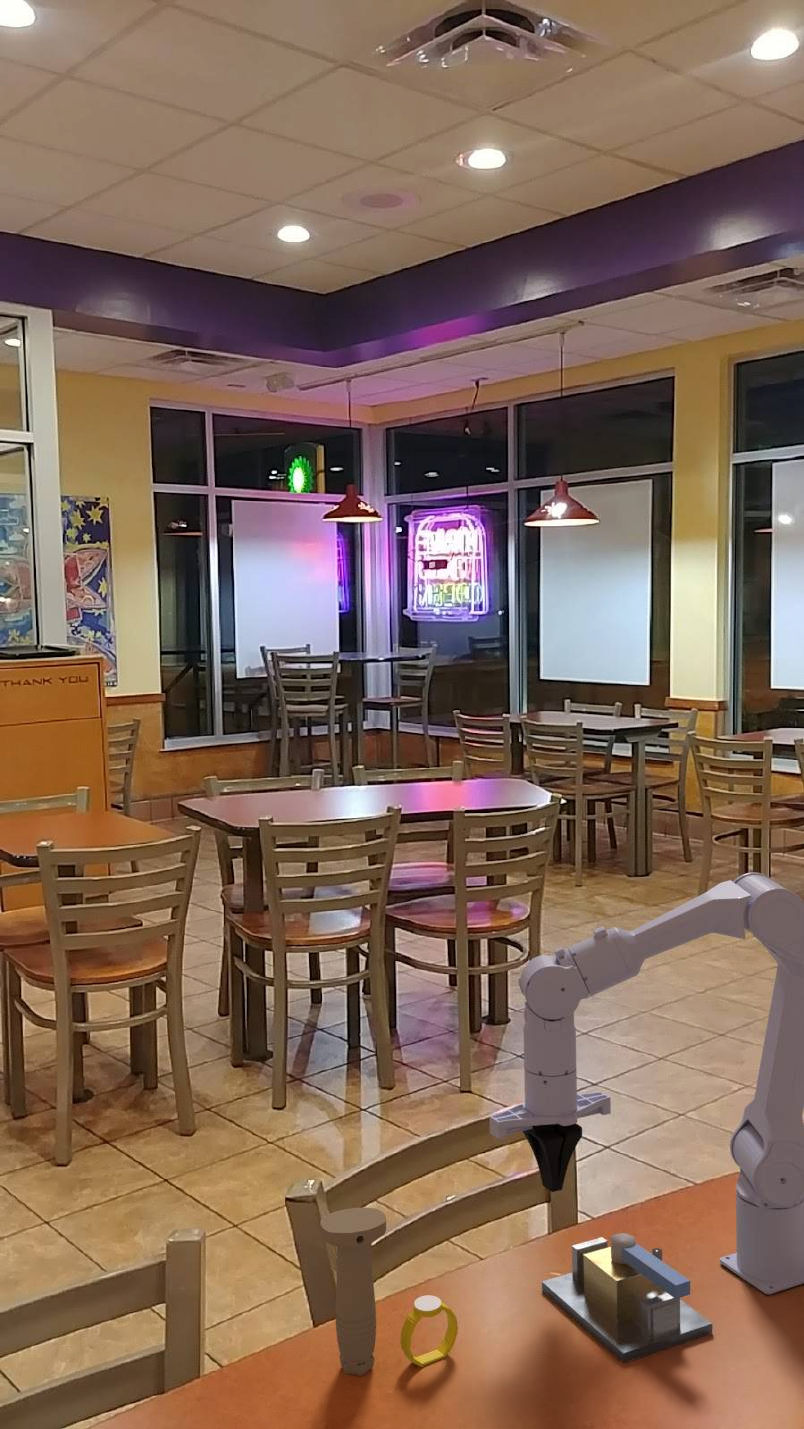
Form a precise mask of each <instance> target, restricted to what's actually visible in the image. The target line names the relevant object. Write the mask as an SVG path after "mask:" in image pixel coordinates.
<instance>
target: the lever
mask: <svg viewBox="0 0 804 1429" xmlns="http://www.w3.org/2000/svg"><path fill="white" fill-rule="evenodd" d="M610 1247H611V1259H612V1260H613V1261H614V1262H616V1263H620V1264H628V1265H629V1266H631V1267H632V1268H633V1269H635V1270H636V1271H638V1272H639V1273H640V1274H642V1275H643V1276H645V1277H646V1278H647V1279H649V1280H650V1281H651V1282H653V1283H654V1284H656V1285H657V1286H658V1287H660V1288H661V1289H663V1290H664V1291H665V1292H667V1293H668V1294H669V1295H671V1296H672V1297H674V1298H675V1299H678V1298H680V1299H681V1298H684V1297H687V1296H689V1295H691V1280H690V1279H689V1278H687V1277H686V1276H684V1275H683V1274H681V1273H680V1272H678V1271H677V1270H676V1269H674V1268H672V1267H671V1265H670V1266H669V1265H668V1264H667V1263H665V1262H664V1261H663V1260H662V1261H661V1260H660V1259H658V1258H657V1257H655V1256H654V1255H652V1253H651V1252H650V1251H649V1250H647V1249H645V1248H643V1246H641V1245H639V1244H638V1243H637V1240H636V1237H635V1236H633V1235H631V1234H629V1233H622V1232H620V1233H615V1234H613V1235H612V1236H611V1237H610Z"/></svg>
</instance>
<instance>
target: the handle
mask: <svg viewBox="0 0 804 1429" xmlns="http://www.w3.org/2000/svg"><path fill="white" fill-rule="evenodd" d="M386 1217H387V1216H386V1214H385V1213H384V1212H383V1211H382V1210H380V1209H378V1208H375V1207H352V1208H345V1209H341V1210H337V1211H333V1212H331V1213H329V1214H326V1215H324V1216H322V1217H321V1219H320V1222H319V1223H320V1225H319V1227H320V1235H321V1238H322V1239H323V1240H324V1242H326V1243H327V1244H329V1245H332V1246H335V1248H336V1287H335V1288H336V1289H335V1330H336V1331H335V1332H336V1338H337V1339H336V1340H337V1341H336V1342H337V1346H338V1351H339V1361H340V1366H341V1368H343V1372H344V1373H345V1374H346V1375H356V1376H360V1377H361V1376H364V1375H365V1373H367V1372H369V1371H370V1370H373V1368H374V1364H375V1363H374V1362H375V1355H374V1352H375V1346H376V1338H377V1337H376V1336H377V1304H376V1296H375V1295H376V1294H375V1283H374V1274H373V1261H372V1260H373V1258H372V1244H373V1242H375V1241H376V1240H379V1238H381V1237H382V1236H384V1235H385V1234H386V1231H387V1218H386Z"/></svg>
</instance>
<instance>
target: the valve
mask: <svg viewBox="0 0 804 1429" xmlns="http://www.w3.org/2000/svg"><path fill="white" fill-rule="evenodd" d="M651 1252H652V1253H651V1254H652V1255H654V1256H655V1257H657V1258H658V1259H660V1260H661V1261H663V1250H662V1249H661V1248H659V1247H654V1248H652V1251H651ZM571 1265H572V1266H571V1267H572V1269H571V1270H572V1271H571V1272H569V1273H566V1274H562V1275H559V1276H557V1277H552V1278H548V1279H545V1280H542V1281H541V1290H542V1292H543V1293H544V1294H546V1295H547V1297H549V1298H550V1299H551V1300H552V1301H554V1303H556V1304H557V1305H558V1306H559V1307H560V1308H561V1309H562V1310H564V1311H565V1313H567V1314H568V1315H569V1316H570V1317H571V1318H573V1319H574V1321H576V1322H577V1323H578V1324H579V1326H581V1327H582V1328H584V1329H585V1331H587V1332H588V1333H589V1334H590V1335H591V1336H592V1337H594V1338H595V1339H596V1341H598V1342H599V1343H600V1344H601V1345H603V1346H604V1347H605V1348H606V1349H607V1350H609V1351H610V1353H611V1354H613V1355H614V1356H615V1357H616V1358H617V1359H619V1361H621V1363H623V1364H624V1363H628V1362H631V1361H634V1360H637V1359H640V1358H643V1357H645V1356H648V1355H652V1354H654V1353H657V1352H660V1351H662V1350H666V1349H669V1348H671V1347H675V1346H678V1345H681V1344H683V1343H687V1342H690V1341H693V1340H696V1339H698V1338H701V1337H704V1336H707V1335H710V1334H713V1323H712V1322H711V1321H710V1320H708V1318H706V1317H704V1316H703V1315H702V1314H700V1313H699V1312H698V1311H697V1310H695V1309H694V1308H693V1307H691V1305H688V1304H687V1303H686V1302H685V1301H683V1300H682V1299H681V1298H678V1299H675V1298H674V1297H672V1296H671V1295H669V1294H668V1293H667V1292H665V1291H664V1290H663V1289H661V1288H660V1287H658V1286H657V1285H656V1284H654V1283H653V1282H651V1281H650V1280H649V1279H647V1278H646V1277H645V1276H643V1275H642V1274H640V1273H639V1272H638V1271H636V1270H635V1269H633V1268H632V1267H631V1266H629V1265H628V1264H620V1263H616V1262H614V1261H613V1260H612V1259H611V1246H608V1240H607V1239H605V1237H598V1238H595V1239H591V1240H587V1241H584V1242H581V1243H577V1244H573V1245H571Z"/></svg>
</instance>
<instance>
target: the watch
mask: <svg viewBox="0 0 804 1429" xmlns="http://www.w3.org/2000/svg"><path fill="white" fill-rule="evenodd" d="M413 1307H414V1308H413V1309H412V1311H411V1312H410V1313H409V1314H408V1315H407V1317H406V1318H405V1321H404V1323H403V1325H402V1328H401V1331H400V1347H401V1349H402V1352H403V1354H404V1356H405V1357H406V1359H408V1360H409V1361H410V1362H412V1363H413V1364H414V1365H416V1366H418V1367H419V1368H425V1366H427V1365H429V1364H432V1363H435V1362H437V1361H439V1360H442V1359H445V1358H446V1357H447V1356H448V1354H449V1353H450V1352H451V1350H452V1349H453V1347H454V1345H455V1343H456V1339H457V1336H458V1331H459V1329H458V1319H457V1316H456V1315H455V1313H454V1312H453V1310H452V1309H451V1308H450V1307H449V1306H447V1305H446V1304H445V1303H444V1302H442V1300H441V1299H440V1297H438V1296H435V1295H429V1294H428V1295H422V1296H419V1297H417V1298H416V1299H415V1300H414V1303H413ZM442 1311H444V1312H445V1314H446V1319H447V1328H446V1332H445V1336H444V1339H443V1340H442V1341H441V1343H440V1344H439V1345H438V1347H437V1349H434V1350H432V1351H428V1352H427V1353H424V1354H421V1355H418V1356H414V1354H413V1352H412V1350H411V1343H412V1342H411V1340H412V1335H413V1332H414V1330H415V1327H416V1325H417V1324H418V1323H419V1321H420V1320H421V1319H422V1318H431V1317H436V1316H438V1315H439V1314H440V1313H442Z"/></svg>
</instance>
